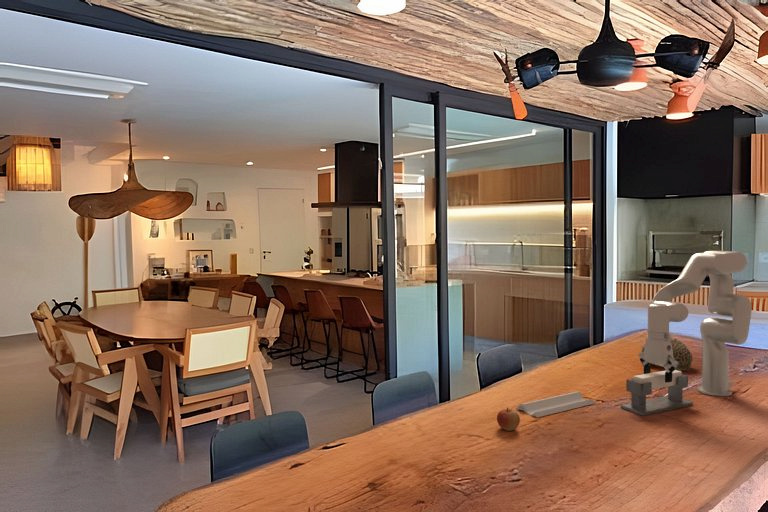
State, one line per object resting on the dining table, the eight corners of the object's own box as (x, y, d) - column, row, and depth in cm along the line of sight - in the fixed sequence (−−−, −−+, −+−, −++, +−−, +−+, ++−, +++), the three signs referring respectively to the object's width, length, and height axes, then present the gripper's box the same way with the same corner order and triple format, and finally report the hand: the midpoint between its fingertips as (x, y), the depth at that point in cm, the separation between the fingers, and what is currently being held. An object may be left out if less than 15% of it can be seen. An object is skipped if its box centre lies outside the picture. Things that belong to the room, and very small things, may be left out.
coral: (695, 368, 277) (697, 339, 277) (688, 374, 263) (690, 343, 263) (645, 360, 292) (648, 332, 291) (637, 365, 277) (639, 335, 277)
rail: (672, 381, 223) (672, 369, 222) (681, 384, 219) (681, 371, 219) (633, 388, 214) (633, 376, 213) (641, 391, 210) (641, 378, 210)
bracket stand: (670, 397, 227) (671, 370, 226) (693, 404, 218) (693, 376, 217) (620, 407, 215) (621, 378, 215) (642, 415, 206) (642, 385, 206)
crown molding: (537, 419, 206) (537, 410, 205) (514, 410, 216) (514, 401, 216) (594, 405, 221) (594, 396, 221) (571, 397, 231) (571, 389, 231)
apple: (507, 435, 189) (507, 412, 189) (492, 427, 196) (492, 405, 196) (524, 431, 193) (524, 408, 192) (509, 423, 200) (509, 402, 199)
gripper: (684, 338, 209) (684, 383, 210) (646, 331, 225) (645, 372, 225) (671, 340, 206) (670, 385, 207) (632, 332, 221) (632, 374, 222)
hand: (657, 378), depth 216 cm, fingers open, 9 cm apart
